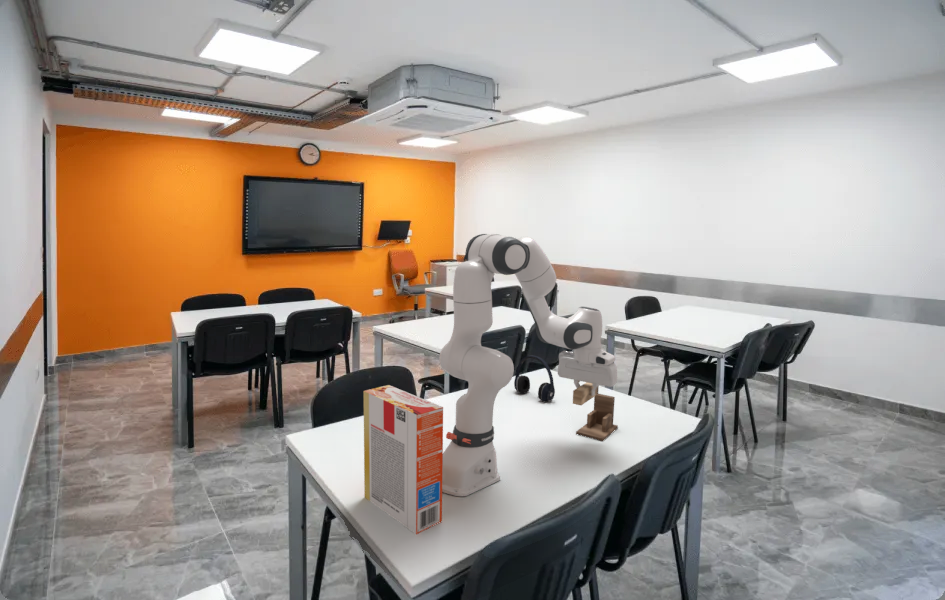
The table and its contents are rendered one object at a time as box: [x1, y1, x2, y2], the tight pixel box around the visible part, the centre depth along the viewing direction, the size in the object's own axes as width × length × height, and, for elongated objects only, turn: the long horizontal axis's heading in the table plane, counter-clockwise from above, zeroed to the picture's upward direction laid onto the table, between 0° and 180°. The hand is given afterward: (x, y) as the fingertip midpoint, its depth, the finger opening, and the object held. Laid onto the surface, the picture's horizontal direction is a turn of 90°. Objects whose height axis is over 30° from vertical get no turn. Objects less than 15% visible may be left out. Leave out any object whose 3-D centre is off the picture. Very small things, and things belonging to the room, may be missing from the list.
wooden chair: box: [575, 393, 619, 442], centre depth 189 cm, size 15×10×12 cm, turn 145°
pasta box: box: [363, 384, 444, 535], centre depth 134 cm, size 23×8×30 cm, turn 44°
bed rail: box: [572, 382, 600, 406], centre depth 177 cm, size 15×3×5 cm, turn 145°
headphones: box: [513, 354, 556, 402], centre depth 226 cm, size 20×7×18 cm, turn 42°
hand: (585, 394), depth 177 cm, fingers closed on bed rail, 3 cm apart
